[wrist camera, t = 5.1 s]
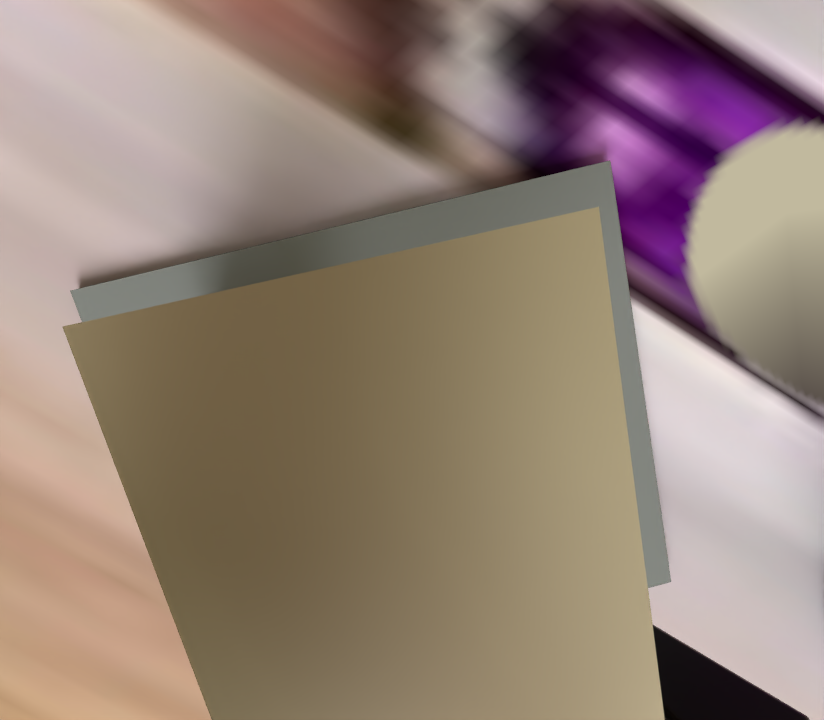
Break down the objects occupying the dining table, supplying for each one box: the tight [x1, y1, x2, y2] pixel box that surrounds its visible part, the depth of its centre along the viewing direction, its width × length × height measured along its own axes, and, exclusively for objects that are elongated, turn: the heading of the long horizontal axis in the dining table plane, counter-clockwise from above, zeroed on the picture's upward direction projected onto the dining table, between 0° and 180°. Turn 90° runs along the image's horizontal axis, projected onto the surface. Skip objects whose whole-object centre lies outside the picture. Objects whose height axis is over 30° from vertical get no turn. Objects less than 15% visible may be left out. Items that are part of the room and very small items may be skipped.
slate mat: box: [70, 161, 671, 588], centre depth 20 cm, size 20×18×1 cm
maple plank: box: [63, 207, 665, 720], centre depth 7 cm, size 4×12×4 cm, turn 12°
